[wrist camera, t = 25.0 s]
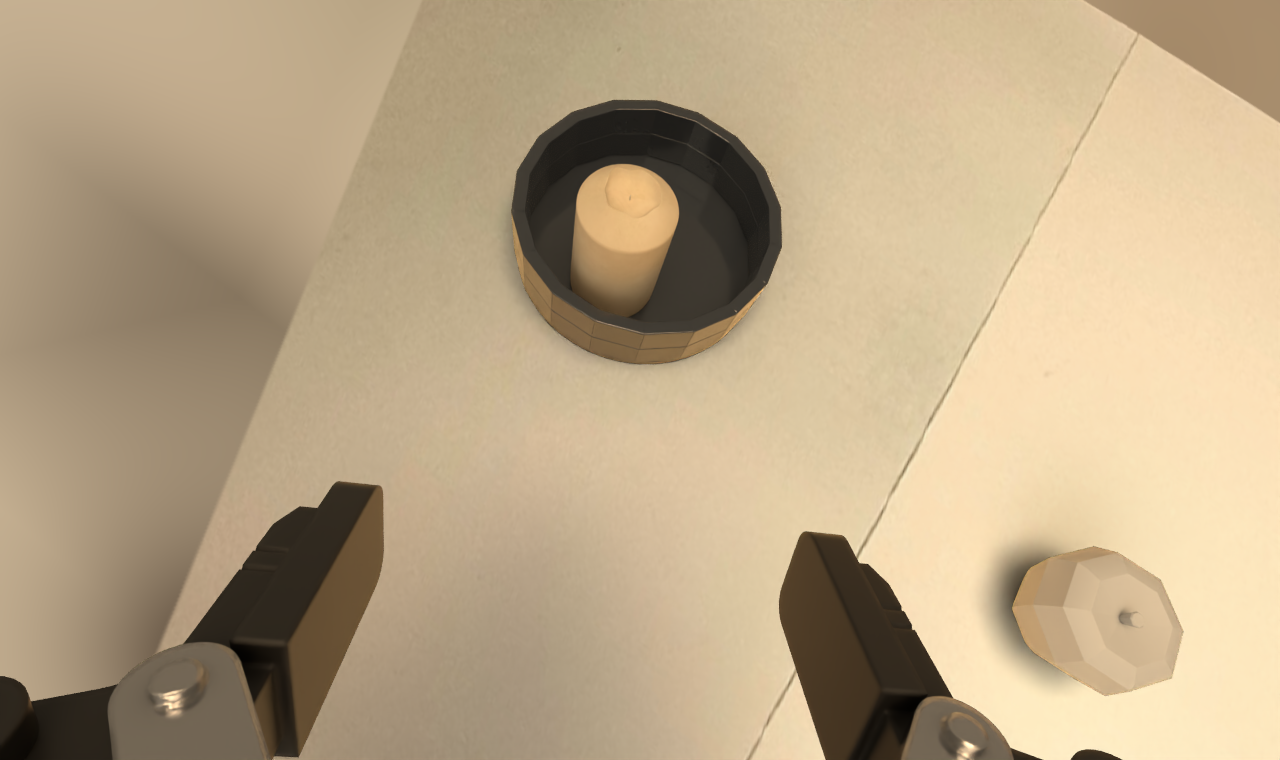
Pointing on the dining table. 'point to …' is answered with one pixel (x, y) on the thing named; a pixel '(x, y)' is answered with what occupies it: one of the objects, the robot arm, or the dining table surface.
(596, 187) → the candle
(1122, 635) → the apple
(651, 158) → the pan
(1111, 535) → the dining table surface
